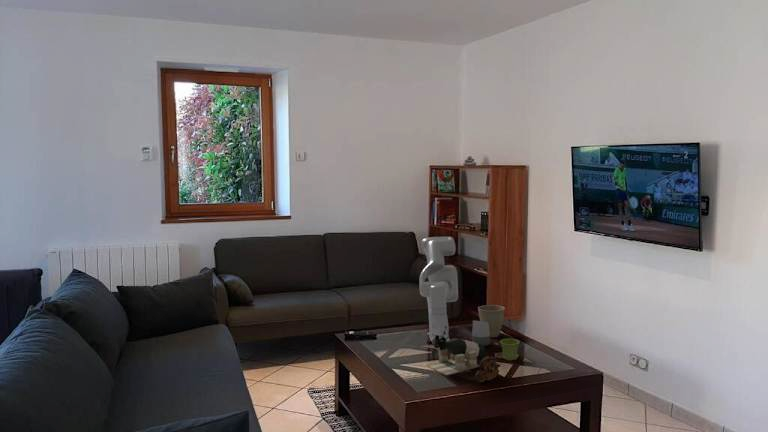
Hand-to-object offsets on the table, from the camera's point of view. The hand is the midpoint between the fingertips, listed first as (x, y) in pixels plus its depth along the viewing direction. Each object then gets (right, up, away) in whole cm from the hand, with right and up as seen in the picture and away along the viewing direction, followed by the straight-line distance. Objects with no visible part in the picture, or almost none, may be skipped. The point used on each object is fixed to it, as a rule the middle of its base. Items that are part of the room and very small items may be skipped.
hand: (440, 348), depth 276 cm
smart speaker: (+26, -7, +36) cm, 45 cm away
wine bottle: (+21, -5, +13) cm, 25 cm away
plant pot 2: (+36, -8, +12) cm, 39 cm away
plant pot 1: (+34, -5, +53) cm, 63 cm away
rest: (+7, -10, +5) cm, 13 cm away
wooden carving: (+20, -11, -15) cm, 28 cm away
